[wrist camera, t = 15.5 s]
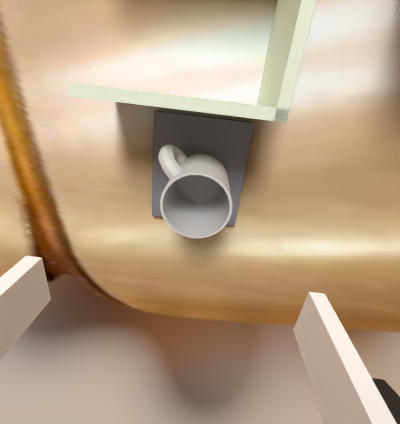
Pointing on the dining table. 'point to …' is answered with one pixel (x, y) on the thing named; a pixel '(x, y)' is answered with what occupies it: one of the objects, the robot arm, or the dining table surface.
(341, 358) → the robot arm
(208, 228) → the cup
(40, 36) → the dining table surface
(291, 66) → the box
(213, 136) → the mat
